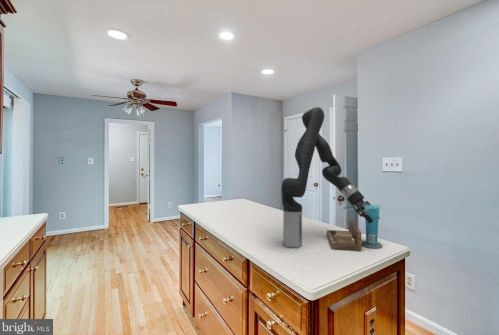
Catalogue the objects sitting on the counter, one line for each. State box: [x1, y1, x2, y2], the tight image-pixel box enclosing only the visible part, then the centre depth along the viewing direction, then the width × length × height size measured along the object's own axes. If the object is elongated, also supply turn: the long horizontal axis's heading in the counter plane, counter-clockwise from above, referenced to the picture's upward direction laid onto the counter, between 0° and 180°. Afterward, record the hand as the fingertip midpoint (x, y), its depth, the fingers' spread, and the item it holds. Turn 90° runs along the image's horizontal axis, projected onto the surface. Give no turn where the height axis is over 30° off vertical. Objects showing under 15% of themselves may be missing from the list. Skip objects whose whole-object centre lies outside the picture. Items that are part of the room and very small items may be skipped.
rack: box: [326, 219, 362, 252], centre depth 128 cm, size 22×13×9 cm, turn 169°
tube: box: [364, 204, 381, 245], centre depth 123 cm, size 7×5×19 cm, turn 94°
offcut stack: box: [334, 230, 355, 243], centre depth 124 cm, size 9×9×6 cm
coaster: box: [361, 240, 383, 250], centre depth 124 cm, size 9×9×1 cm
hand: (375, 220), depth 122 cm, fingers open, 8 cm apart
